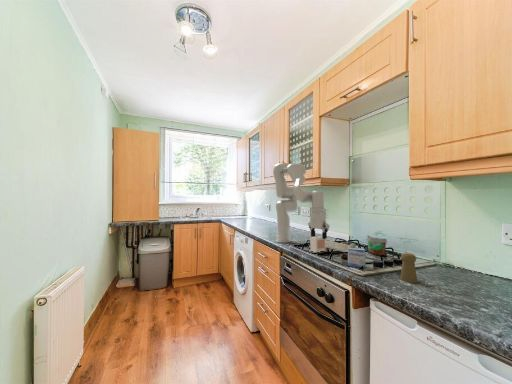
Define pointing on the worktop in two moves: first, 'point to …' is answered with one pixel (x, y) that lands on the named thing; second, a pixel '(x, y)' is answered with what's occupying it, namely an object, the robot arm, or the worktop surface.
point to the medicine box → (356, 257)
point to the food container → (376, 246)
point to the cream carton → (317, 244)
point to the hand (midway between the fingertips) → (318, 237)
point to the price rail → (338, 246)
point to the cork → (408, 268)
